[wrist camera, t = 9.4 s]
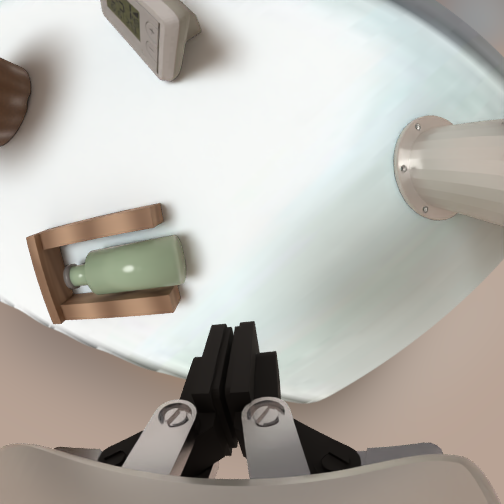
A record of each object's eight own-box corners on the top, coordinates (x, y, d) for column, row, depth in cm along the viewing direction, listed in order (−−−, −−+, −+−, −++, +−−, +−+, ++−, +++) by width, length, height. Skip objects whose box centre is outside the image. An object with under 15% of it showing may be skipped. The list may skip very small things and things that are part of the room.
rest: (160, 203, 29) (145, 208, 25) (180, 298, 32) (171, 316, 28) (47, 229, 30) (25, 237, 25) (70, 308, 33) (53, 324, 28)
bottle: (166, 245, 25) (52, 266, 26) (180, 293, 27) (68, 306, 28) (177, 228, 30) (73, 249, 30) (188, 270, 32) (86, 285, 32)
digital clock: (104, 11, 22) (65, -26, 12) (168, -23, 21) (145, -72, 11) (143, 100, 26) (98, 73, 16) (218, 61, 25) (205, 14, 15)
